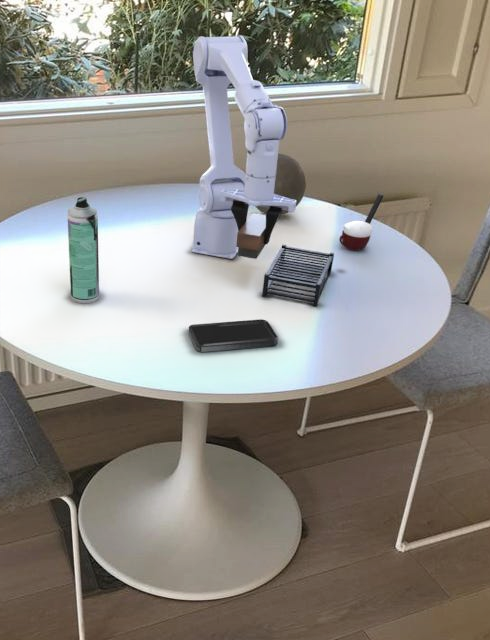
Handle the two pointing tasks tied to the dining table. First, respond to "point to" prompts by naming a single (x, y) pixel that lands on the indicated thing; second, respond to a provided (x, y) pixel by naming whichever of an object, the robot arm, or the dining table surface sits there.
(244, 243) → the shoe brush
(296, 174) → the cantaloupe
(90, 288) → the spray can
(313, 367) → the dining table surface
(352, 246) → the cocoa
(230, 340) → the phone
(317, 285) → the shoe rack
